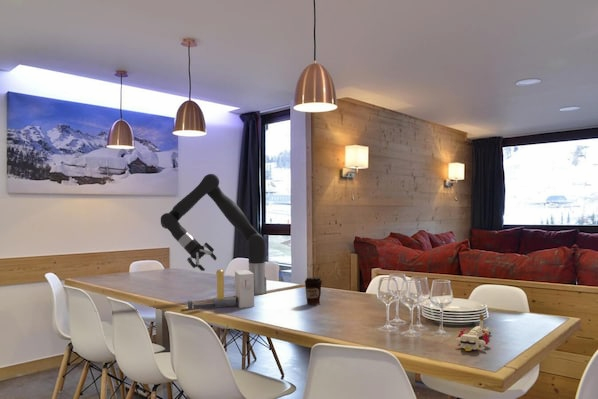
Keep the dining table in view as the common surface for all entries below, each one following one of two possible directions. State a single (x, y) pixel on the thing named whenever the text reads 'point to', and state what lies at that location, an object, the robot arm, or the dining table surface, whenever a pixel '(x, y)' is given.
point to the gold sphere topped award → (222, 292)
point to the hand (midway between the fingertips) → (210, 265)
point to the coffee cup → (313, 290)
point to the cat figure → (474, 337)
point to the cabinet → (244, 288)
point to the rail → (202, 305)
